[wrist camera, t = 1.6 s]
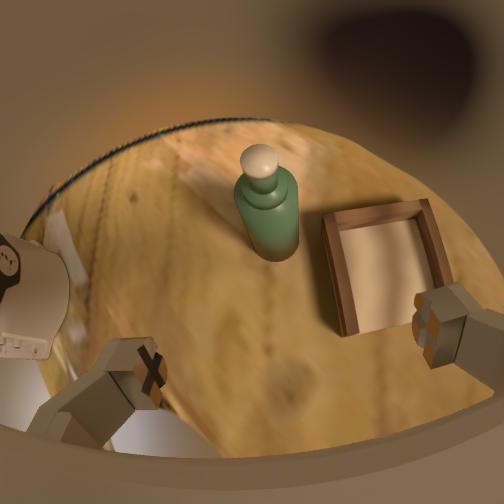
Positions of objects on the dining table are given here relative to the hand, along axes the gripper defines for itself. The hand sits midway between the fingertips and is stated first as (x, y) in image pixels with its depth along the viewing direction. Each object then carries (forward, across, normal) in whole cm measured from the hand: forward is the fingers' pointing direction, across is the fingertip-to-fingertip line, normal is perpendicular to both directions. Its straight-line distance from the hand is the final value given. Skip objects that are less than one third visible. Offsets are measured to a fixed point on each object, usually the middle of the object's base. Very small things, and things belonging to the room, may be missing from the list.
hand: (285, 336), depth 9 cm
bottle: (+26, +1, +8) cm, 27 cm away
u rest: (+22, -11, +12) cm, 27 cm away
